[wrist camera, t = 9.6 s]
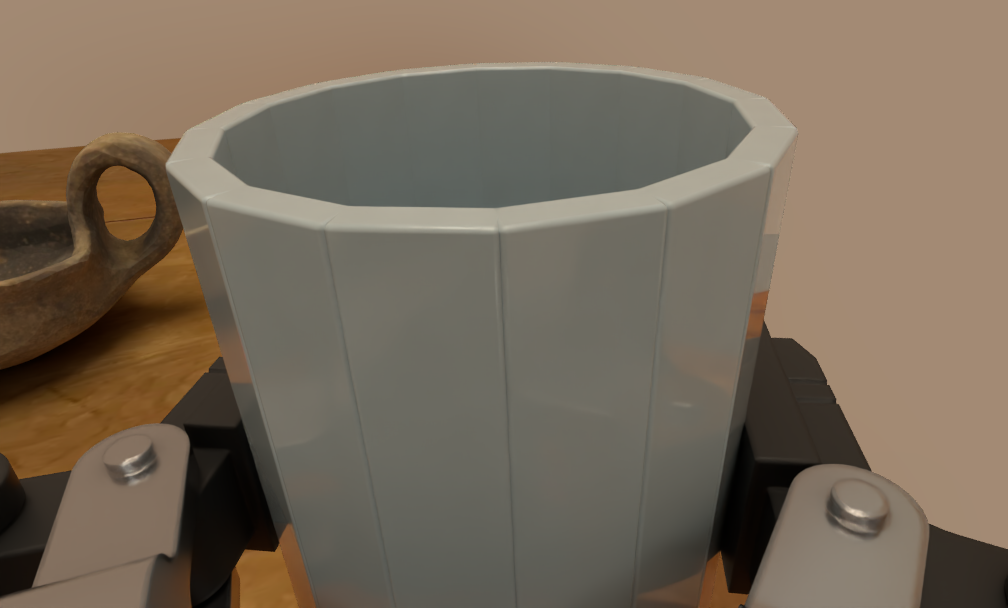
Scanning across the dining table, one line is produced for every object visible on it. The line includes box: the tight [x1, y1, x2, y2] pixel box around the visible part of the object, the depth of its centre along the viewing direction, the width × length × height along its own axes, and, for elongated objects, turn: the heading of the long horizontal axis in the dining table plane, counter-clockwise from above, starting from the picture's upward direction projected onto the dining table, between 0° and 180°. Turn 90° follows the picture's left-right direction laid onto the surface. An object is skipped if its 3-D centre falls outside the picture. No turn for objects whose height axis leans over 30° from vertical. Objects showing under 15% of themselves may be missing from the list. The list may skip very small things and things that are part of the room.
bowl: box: [0, 132, 183, 370], centre depth 32 cm, size 14×18×10 cm
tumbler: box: [165, 62, 798, 608], centre depth 10 cm, size 6×6×11 cm
